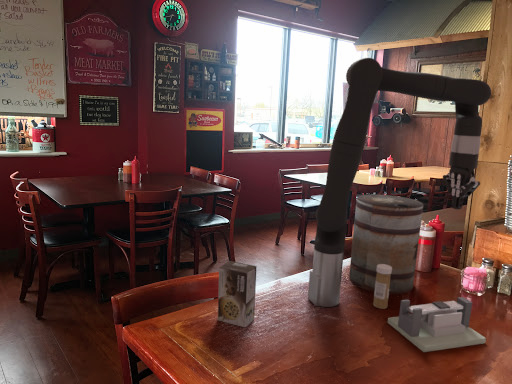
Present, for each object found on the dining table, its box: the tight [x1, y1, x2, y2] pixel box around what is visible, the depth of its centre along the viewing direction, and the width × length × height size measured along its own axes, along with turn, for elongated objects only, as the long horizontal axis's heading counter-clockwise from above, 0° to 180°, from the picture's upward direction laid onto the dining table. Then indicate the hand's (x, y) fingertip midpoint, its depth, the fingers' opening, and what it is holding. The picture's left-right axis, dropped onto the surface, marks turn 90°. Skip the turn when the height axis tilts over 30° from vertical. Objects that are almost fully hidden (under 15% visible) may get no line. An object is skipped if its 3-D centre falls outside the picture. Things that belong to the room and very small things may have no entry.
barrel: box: [348, 194, 424, 295], centre depth 154 cm, size 22×22×30 cm
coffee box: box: [217, 260, 257, 328], centre depth 122 cm, size 9×6×16 cm
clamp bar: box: [407, 300, 463, 314], centre depth 120 cm, size 16×4×1 cm, turn 107°
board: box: [387, 296, 487, 353], centre depth 121 cm, size 20×16×9 cm
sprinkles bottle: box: [372, 264, 392, 310], centre depth 135 cm, size 5×5×14 cm
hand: (456, 208), depth 129 cm, fingers closed
